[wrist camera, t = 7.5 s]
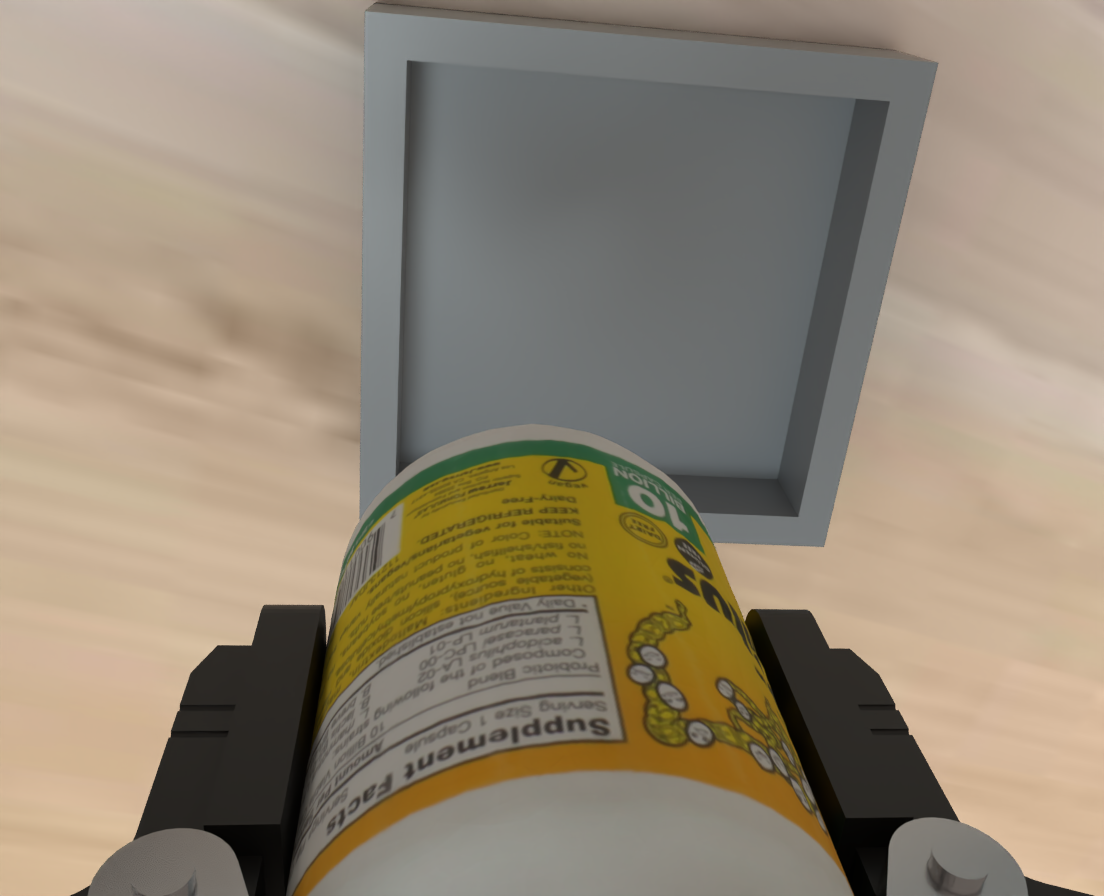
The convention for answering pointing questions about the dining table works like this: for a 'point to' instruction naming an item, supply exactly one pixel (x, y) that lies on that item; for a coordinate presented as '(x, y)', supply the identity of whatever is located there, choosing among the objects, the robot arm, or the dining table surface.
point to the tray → (630, 247)
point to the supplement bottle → (547, 694)
